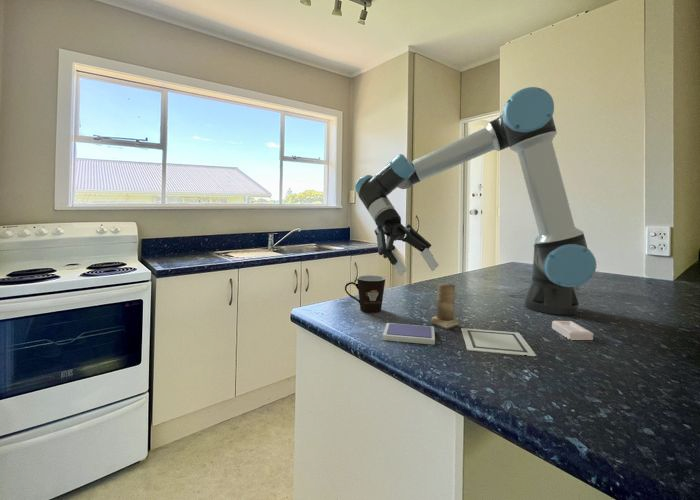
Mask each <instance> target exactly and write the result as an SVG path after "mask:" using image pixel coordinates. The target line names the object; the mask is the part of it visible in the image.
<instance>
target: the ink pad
mask: <svg viewBox="0 0 700 500" xmlns="http://www.w3.org/2000/svg"><path fill="white" fill-rule="evenodd" d="M382 341H390V342H401V343H403V342H404V343H413V344H424V345H433V346H434V345H435V344H436V336H435V326H433V325H432V326H431V325H430V326H428V325H418V324H406V323H405V324H404V323H395V322H393V323H392V322H386V324H385V327H384V330H383V333H382Z"/></svg>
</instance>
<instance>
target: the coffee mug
mask: <svg viewBox="0 0 700 500" xmlns="http://www.w3.org/2000/svg"><path fill="white" fill-rule="evenodd" d="M356 281H357V282H353V281H350V282H348V283H346V284H345V286H344V291H345V293H346V294H347V295H348V296H349V297H350V298H352V299H353V300H355V301H357V302H358V304H359V309H360V310H359V311H360V312H363V313H365V314H377V313H380V312H381V311H382V305H383V300H384V299H383V298H384V290H385V284H386V277H384V276H380V275H372V274H370V275H369V274H367V275H366V274H365V275H360V276H357V278H356ZM350 285H354V286H355V288H356V289H357V290H358V298H357V297H355V296H353V295H352V294H350V293H349V292H348V290H347V287H348V286H350Z"/></svg>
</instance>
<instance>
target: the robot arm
mask: <svg viewBox="0 0 700 500" xmlns="http://www.w3.org/2000/svg"><path fill="white" fill-rule="evenodd" d="M554 110H555V101H554V99H553V96H552V95H551V94H550V93H549V91H547V90H546V89H543V88H541V87H538V86H537V87H536V86H529V87H525V88H522V89H520V90H517V91H516V92H514V93H513V94H512V95H511V96H510V97H509V99H507V101H506V103H505V104H504V106H503V108H502V114H501V115H500V116H498V117H496V118H495V119H493V120H491V121H489V122H488V123H487V124H486V126H485V127H484V128H481V129H479V130H477V131H474V132H472V133H471V134H469V135H466V136H464V137H462V138H460V139H457V140H455V141H453V142H450V143H448V144H447V145H444V146H442V147H440V148H438V149H436V150H434V151H431V152H429V153H427V154H425V155H422V156H420V157H418V158H416V159H414V160H412V161H410V160H409V159H408V158H407V157H406V156H405V155H404V154H401V153H399V154H398V155H396V156H395V157H394V158H392V159H391V160H390V161H389V162H388V163H387V164H386V165H385V166H384V167H383V168H382V169H381V170H379V171H378V172H377V173H376V174H375V175H374V176H373V175H370V174H366V175H364V176H361V177H360V178H359V179H358V180H357V181H356V183H355V185H354V189H355V192H356V194H357V195H358V198H359V200H360V201H361V202H362V204H363V205H364V207H365V209H366V210H367V212H368V213H369V214H370V216H371V219H372V220H373V222H374V224H375V225H376V228H375V230H373V231H374V234H375V235H376V240H377V241H376V242H377V243H376V245H377V250H378V251H377V252H378V255H379V256H382V258H384V259H388V261H389V262H390V264H391V265H392V266H393V268H394V269H395V270H396V273H397V274H398V275H399V276H403V275H404V273H406V272H407V269H408V268H406V266H405V264H404V263H403V261H402V259H401V258H400V256H399V255H398V253H397V252H396V251H395V250H393V248H394V243H395V241H402V242H404V243H407V244H408V245H410V246H412V247H413V248H414V249H415V250H418V251H419V252H420V255H421V257H422V259H423V261H425V263H426V264H427V266H428V267H429V268H430V270H431V272H433V271H435V270H436V269H437V268H438V267H440V266H439V263H438V262H437V260H436V259H435V257H434V255H433V253H432V252H431V251H430V248H431V247H432V244H431V243H430V242H429V241H428V240H427V239H425V238H424V237H423V236H422V235H421V234H419V232H417V231H416V230H415V229H414V228H413V227H412V226H411V225H410V224H409V223H408V224H407V225H406V226H405V225H403V224H402V218H401V216H400V214H399V212H398V211H397V210H396V209H395V207H394V205H393V204H392V202H391V201H390V199H389V198H388V195H390V194H391V193H392V192H394V191H395V190H396V189H397V188H399V189H401V190H406V189H409V188H411V187H413V186H414V185H415V184H418V183H420V182H422V181H425V180H426V179H429V178H431V177H433V176H436V175H438V174H441V173H442V172H445V171H448V170H450V169H452V168H454V167H457V166H459V165H462V164H465V163H467V162H469V161H471V160H474V159H476V158H477V157H480V156H483V155H484V154H485V155H486V154H488V153H490V152H492V151H497V152H500V151H503V150H505V149H507V148H509V149H510V151H513V152H515V153H517V156H518V160H519V163H520V167H521V170H522V174H523V179H524V181H525V187H526V188H527V189H526V190H527V193H528V197H529V201H530V205H531V207H532V213H533V215H534V220H535V223H536V227H537V230H538V234H539V235H538V236H536V237H535V239H534V244H533V249H534V250H533V260H532V261H533V262H532V273H531V274H532V275H531V283H530V285H529V288H528V289H527V292H526V293H525V294H526V295H525V296H524V301H523V302H524V303H523V306H524V307H525V308H527V309H529V310H532V311H535V312H540V313H545V314H550V315H561V316H562V315H563V316H564V315H566V316H571V315H577V314H579V313H580V302H579V298H578V295H577V291H576V289H575V287H579V286H582V285H584V284H586V283H587V282H589V281H590V280H591V279H592V278H593V276H594V275H595V273H596V271H597V260H596V258H595V255H594V254H593V252H592V250H590V249H589V248H588V245H587V244H588V243H587V241H586V237H585V233H584V231H583V230H581V229H579V228H577V227H576V226H575V223H574V219H573V215H572V211H571V208H570V203H569V200H568V197H567V192H566V189H565V184H564V182H563V177H562V174H561V173H562V172H561V169H560V165H559V163H558V159H557V156H556V151H555V147H554V144H553V141H554V139H555V137H556V135H557V134H558V132H557V128H556V124H555V119H554V112H555V111H554Z"/></svg>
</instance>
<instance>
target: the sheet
mask: <svg viewBox="0 0 700 500" xmlns="http://www.w3.org/2000/svg"><path fill="white" fill-rule="evenodd" d="M460 330H461V333H462V336H463V339H464V343H465V347H466V350H467V351H469V352H470V351H471V352H472V351H473V352H481V353H482V352H484V353H492V354H503V355H504V354H505V355H513V356H514V355H516V356H524V355H527V357H535V356H537V354H536V353H535V351H533V349H532V348H531V346H530V345H529V344H528V343H527V341H526V340H525V338H524V337H523V336H522V334H520V332H515V331H504V330H503V331H502V330H501V331H500V330H489V329H477V328H465V327H464V328H463V327H461V328H460Z"/></svg>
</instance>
